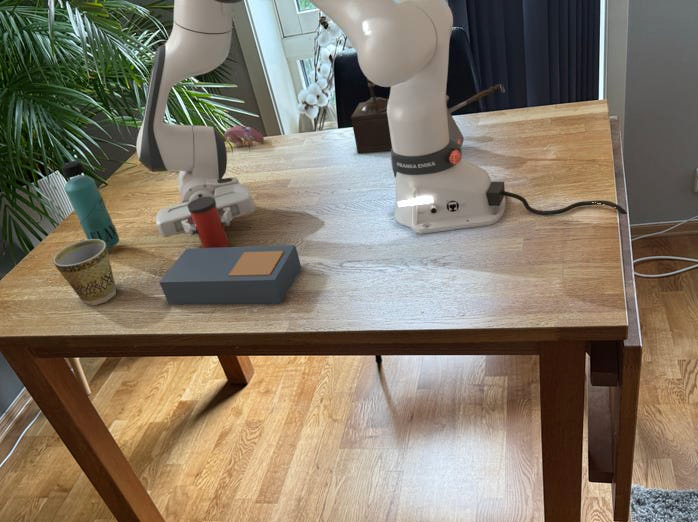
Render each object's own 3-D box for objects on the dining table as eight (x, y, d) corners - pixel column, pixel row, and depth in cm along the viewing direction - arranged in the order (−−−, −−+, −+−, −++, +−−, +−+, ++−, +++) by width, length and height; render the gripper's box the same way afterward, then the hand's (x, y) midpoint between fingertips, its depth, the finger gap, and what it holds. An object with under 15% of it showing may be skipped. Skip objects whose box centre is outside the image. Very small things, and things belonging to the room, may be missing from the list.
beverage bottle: (96, 260, 151) (56, 173, 138) (91, 249, 155) (51, 164, 143) (125, 249, 152) (88, 163, 140) (120, 239, 157) (83, 154, 145)
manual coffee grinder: (400, 150, 170) (389, 75, 159) (356, 154, 173) (343, 80, 162) (409, 126, 182) (400, 54, 171) (368, 130, 185) (357, 59, 174)
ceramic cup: (125, 300, 135) (105, 255, 129) (74, 316, 133) (51, 271, 127) (124, 270, 145) (105, 227, 139) (76, 284, 143) (55, 241, 137)
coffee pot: (411, 164, 162) (403, 100, 153) (421, 145, 171) (413, 82, 162) (504, 160, 156) (501, 92, 147) (509, 139, 164) (507, 74, 155)
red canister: (234, 244, 145) (219, 195, 138) (225, 258, 141) (208, 208, 134) (211, 245, 147) (194, 197, 140) (200, 259, 142) (182, 210, 136)
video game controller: (230, 151, 194) (218, 134, 188) (236, 138, 195) (223, 120, 189) (261, 151, 190) (249, 133, 184) (266, 138, 191) (255, 120, 185)
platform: (301, 267, 133) (295, 243, 130) (281, 303, 125) (274, 278, 121) (194, 270, 140) (185, 247, 137) (168, 304, 131) (158, 281, 128)
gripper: (149, 201, 147) (152, 227, 136) (243, 174, 150) (253, 198, 139) (160, 228, 151) (164, 255, 140) (251, 201, 153) (262, 227, 143)
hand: (209, 227), depth 139 cm, fingers closed on red canister, 5 cm apart
